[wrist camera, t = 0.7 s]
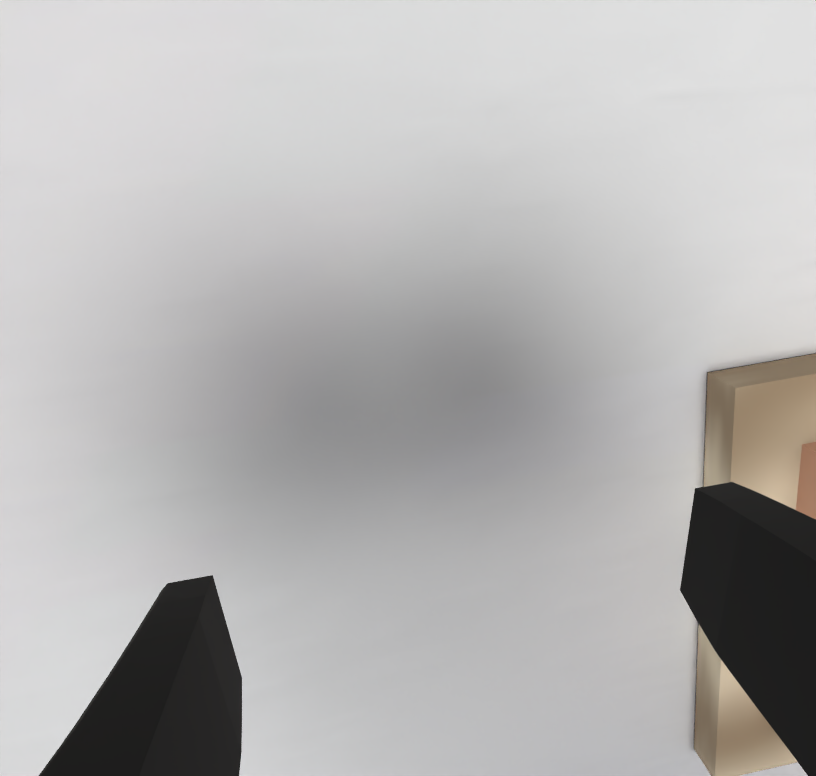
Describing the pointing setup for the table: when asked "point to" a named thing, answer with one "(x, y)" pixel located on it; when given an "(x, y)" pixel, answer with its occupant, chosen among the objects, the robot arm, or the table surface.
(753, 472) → the light wood rectangular frame
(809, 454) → the shallow wooden crate
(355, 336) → the table surface
